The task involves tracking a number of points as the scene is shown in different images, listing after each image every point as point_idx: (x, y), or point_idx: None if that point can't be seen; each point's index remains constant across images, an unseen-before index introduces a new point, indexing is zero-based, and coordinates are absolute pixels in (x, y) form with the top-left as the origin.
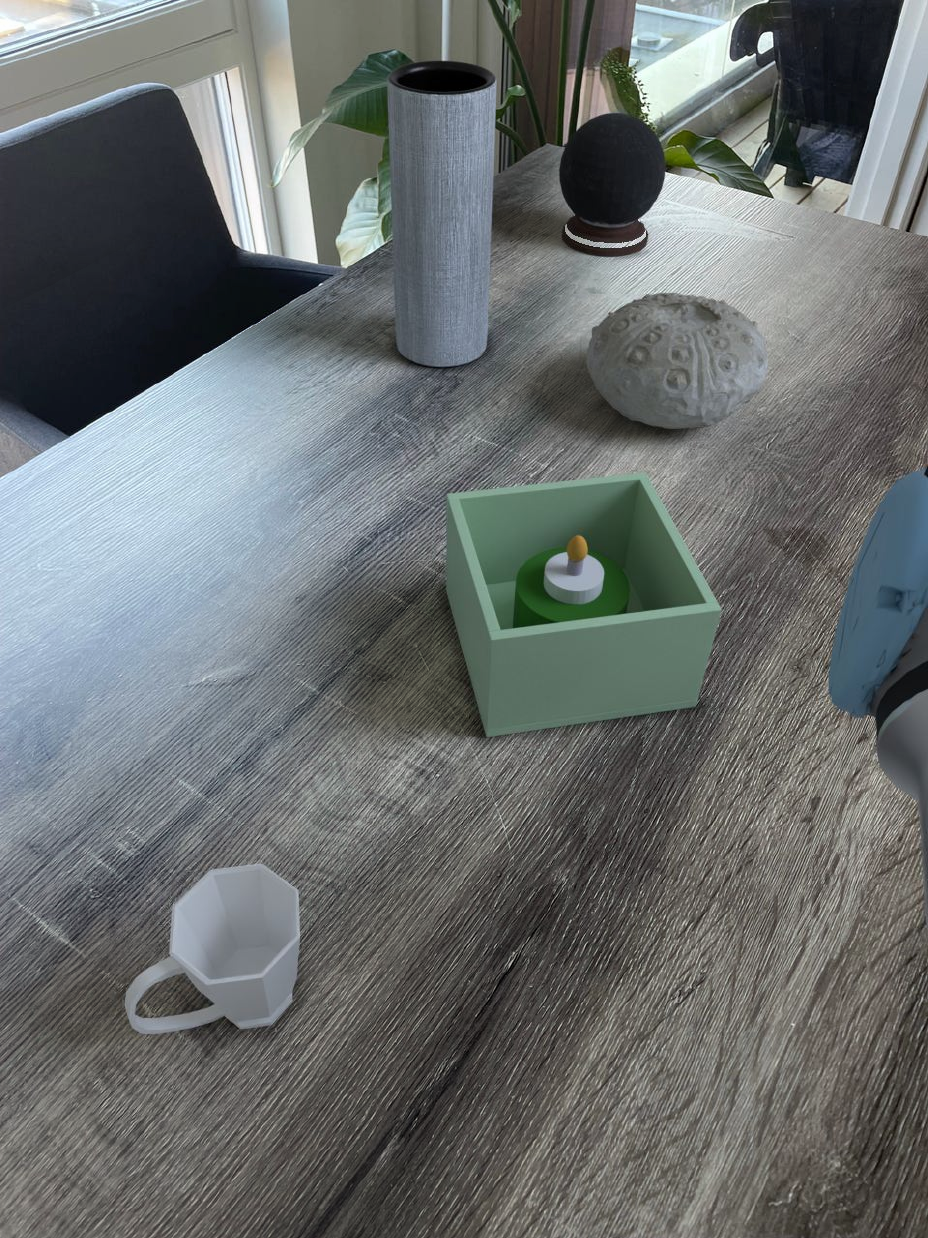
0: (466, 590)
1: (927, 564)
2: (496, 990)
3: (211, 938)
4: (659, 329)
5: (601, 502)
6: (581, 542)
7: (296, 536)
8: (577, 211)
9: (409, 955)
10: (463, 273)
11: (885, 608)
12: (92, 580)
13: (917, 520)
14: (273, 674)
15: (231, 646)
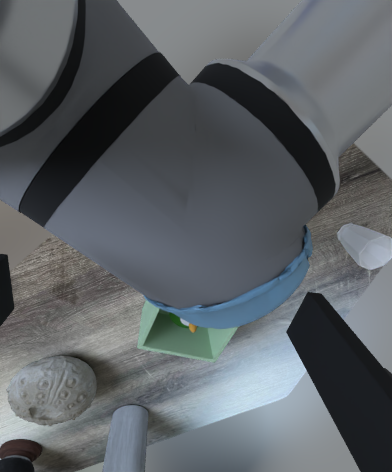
0: None
1: (299, 269)
2: None
3: (362, 251)
4: (65, 409)
5: (158, 340)
6: (193, 329)
7: (233, 357)
8: (32, 466)
9: (309, 220)
10: (125, 450)
11: (309, 255)
12: (291, 361)
13: (284, 299)
14: (274, 316)
15: (276, 329)
